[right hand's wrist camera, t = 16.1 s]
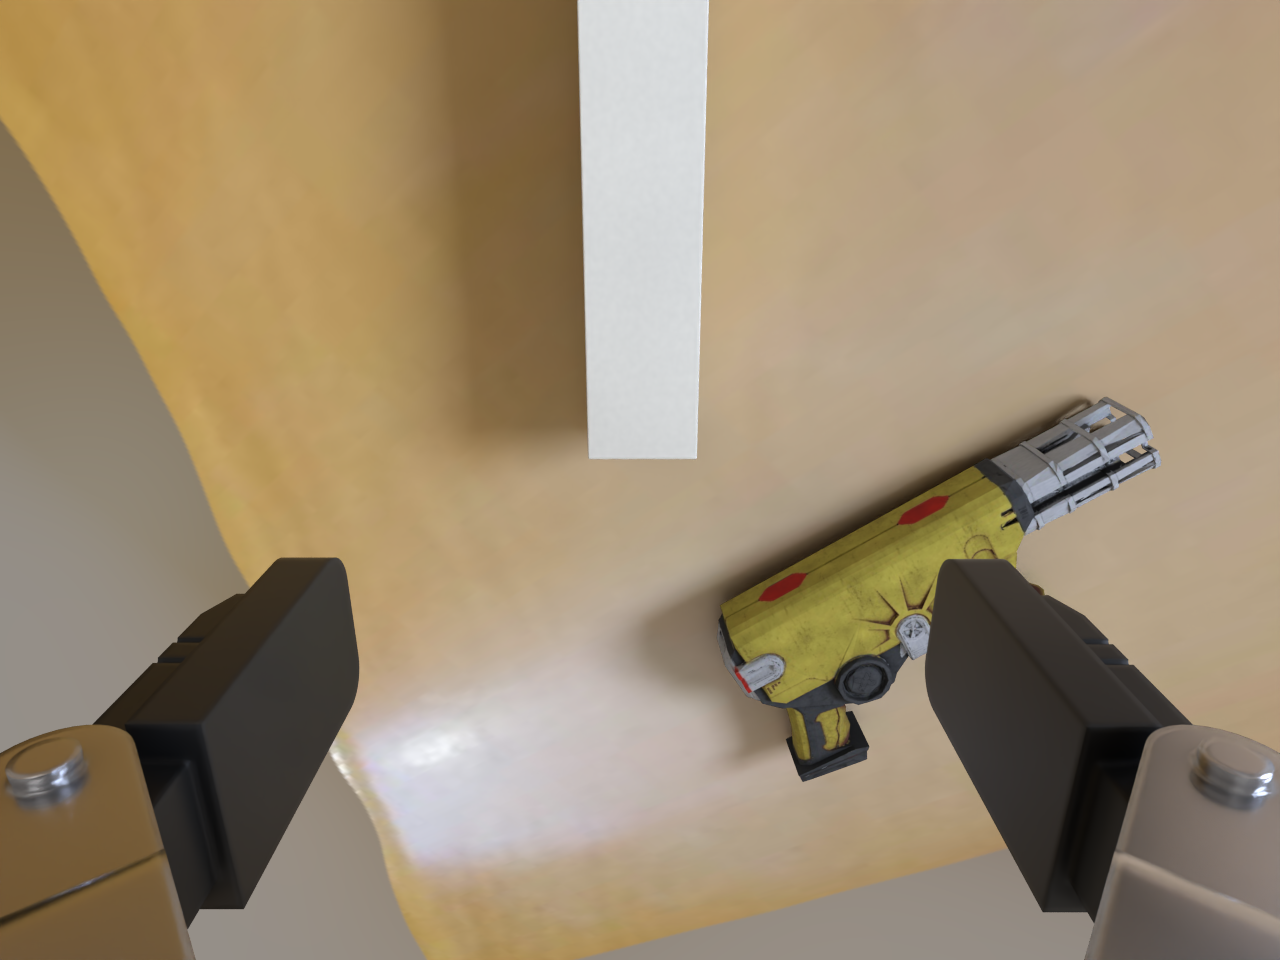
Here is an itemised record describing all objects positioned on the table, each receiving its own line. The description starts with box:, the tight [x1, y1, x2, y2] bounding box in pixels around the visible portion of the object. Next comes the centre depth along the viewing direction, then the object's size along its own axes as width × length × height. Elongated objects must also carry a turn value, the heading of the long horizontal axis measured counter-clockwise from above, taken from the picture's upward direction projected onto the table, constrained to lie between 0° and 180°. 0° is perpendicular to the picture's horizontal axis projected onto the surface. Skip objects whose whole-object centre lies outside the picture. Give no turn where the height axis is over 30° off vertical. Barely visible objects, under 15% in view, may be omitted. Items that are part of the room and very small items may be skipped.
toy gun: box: [717, 397, 1161, 782], centre depth 45 cm, size 5×24×15 cm
